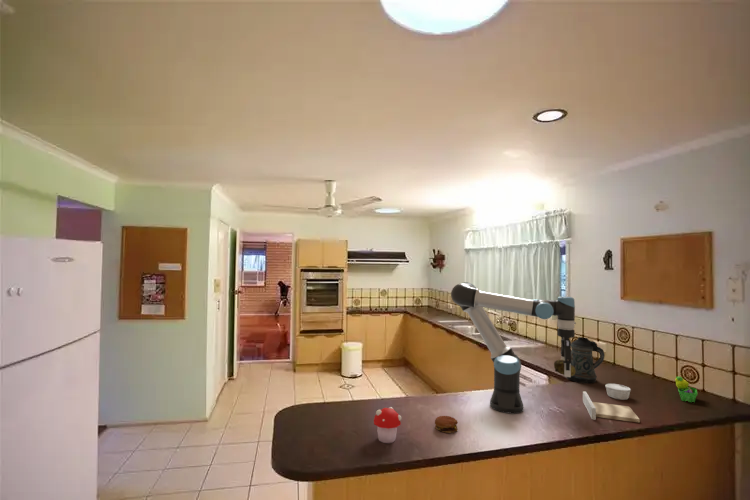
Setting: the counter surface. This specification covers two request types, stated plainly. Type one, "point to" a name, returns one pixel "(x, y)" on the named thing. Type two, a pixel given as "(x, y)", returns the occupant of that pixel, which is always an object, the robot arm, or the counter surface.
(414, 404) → the counter surface
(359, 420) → the counter surface
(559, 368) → the potato
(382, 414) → the mushroom
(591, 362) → the beer stein
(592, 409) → the divider wall
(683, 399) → the fruit basket
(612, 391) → the ramekin
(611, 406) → the cutting board
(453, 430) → the burger
